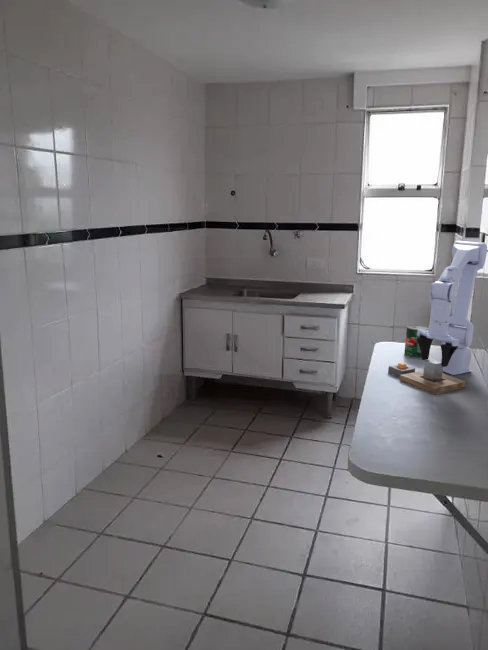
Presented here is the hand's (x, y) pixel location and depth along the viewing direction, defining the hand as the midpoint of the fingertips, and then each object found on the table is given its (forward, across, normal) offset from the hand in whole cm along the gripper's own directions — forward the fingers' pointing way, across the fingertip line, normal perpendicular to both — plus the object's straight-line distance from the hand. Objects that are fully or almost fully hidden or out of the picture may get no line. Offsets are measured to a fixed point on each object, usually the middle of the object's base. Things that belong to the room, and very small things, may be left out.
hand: (434, 362), depth 173 cm
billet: (+6, 0, 0) cm, 7 cm away
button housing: (+7, -12, -2) cm, 14 cm away
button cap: (+6, -11, -2) cm, 13 cm away
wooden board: (+7, 0, 0) cm, 7 cm away
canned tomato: (+7, -26, +21) cm, 34 cm away
